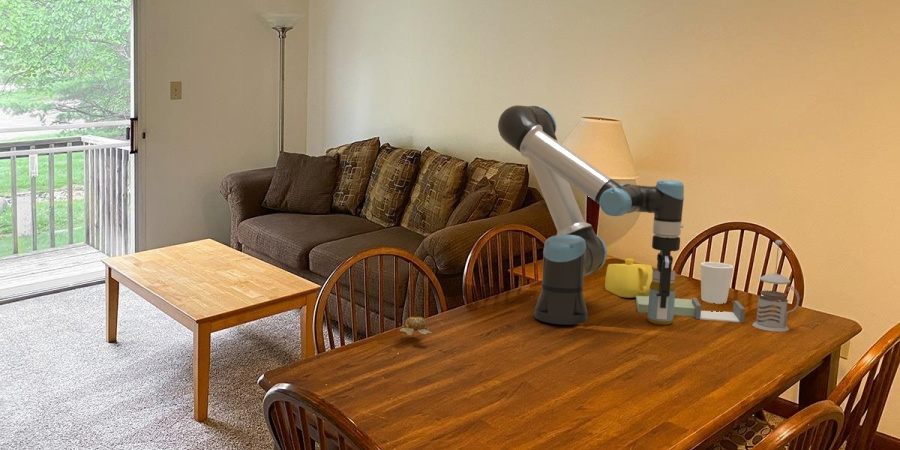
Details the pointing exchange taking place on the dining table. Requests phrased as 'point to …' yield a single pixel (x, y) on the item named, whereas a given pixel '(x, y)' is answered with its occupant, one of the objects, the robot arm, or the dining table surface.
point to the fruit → (415, 326)
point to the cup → (715, 281)
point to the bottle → (654, 299)
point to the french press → (774, 303)
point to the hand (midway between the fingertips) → (660, 315)
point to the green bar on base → (696, 310)
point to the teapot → (628, 279)
